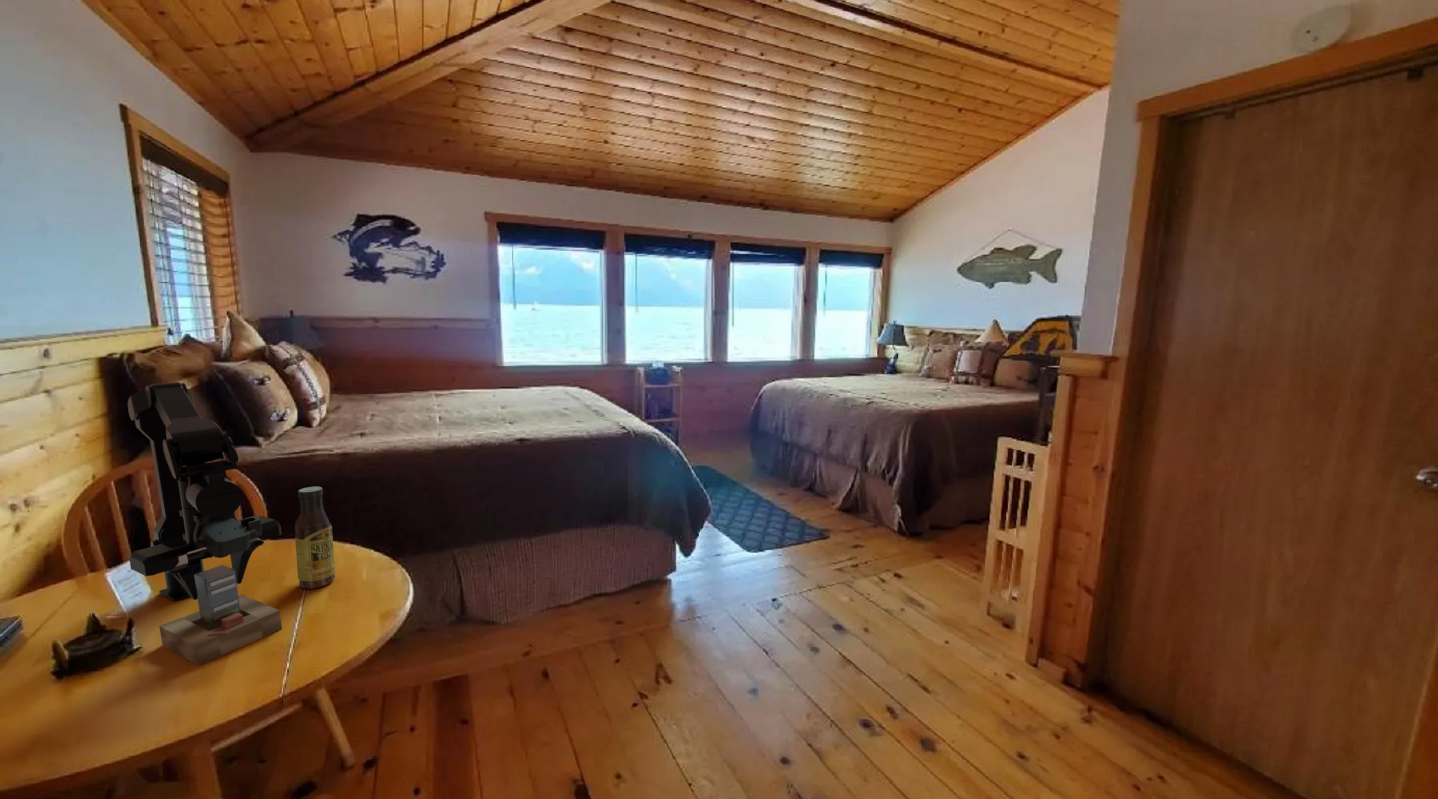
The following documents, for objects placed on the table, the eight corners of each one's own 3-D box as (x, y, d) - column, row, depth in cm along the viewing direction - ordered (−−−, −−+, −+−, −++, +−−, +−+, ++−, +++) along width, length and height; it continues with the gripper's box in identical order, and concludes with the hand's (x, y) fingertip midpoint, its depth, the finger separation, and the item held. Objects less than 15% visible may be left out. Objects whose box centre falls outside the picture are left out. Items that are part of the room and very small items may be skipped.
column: (199, 617, 100) (193, 573, 99) (227, 607, 104) (221, 564, 103) (213, 624, 98) (207, 580, 97) (241, 613, 102) (235, 570, 101)
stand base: (162, 645, 99) (158, 619, 98) (245, 612, 110) (242, 588, 109) (200, 666, 94) (196, 639, 93) (283, 629, 104) (280, 605, 103)
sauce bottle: (317, 592, 118) (307, 496, 114) (291, 588, 119) (280, 493, 115) (344, 577, 124) (335, 485, 120) (319, 574, 125) (309, 483, 122)
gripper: (155, 531, 86) (170, 630, 89) (294, 494, 102) (303, 578, 105) (120, 517, 91) (136, 611, 94) (258, 484, 107) (268, 565, 110)
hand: (217, 591), depth 100 cm, fingers open, 6 cm apart
